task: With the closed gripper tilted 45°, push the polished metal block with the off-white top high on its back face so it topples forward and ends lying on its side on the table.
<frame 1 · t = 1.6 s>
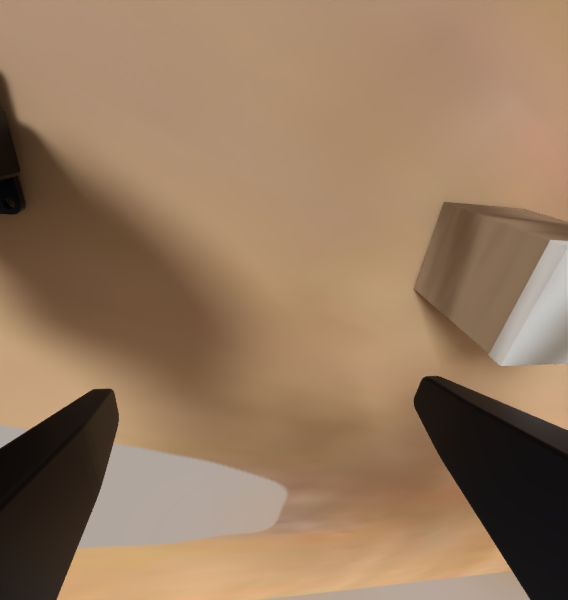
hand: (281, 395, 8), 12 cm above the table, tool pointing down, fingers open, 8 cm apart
polished metal block: (467, 250, 21), on the table
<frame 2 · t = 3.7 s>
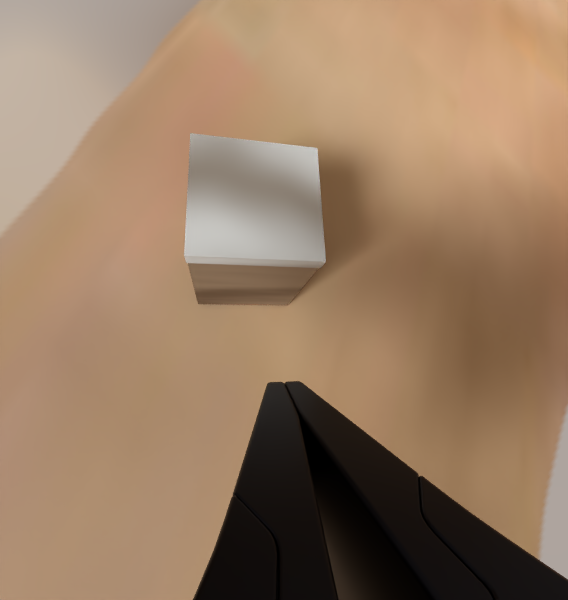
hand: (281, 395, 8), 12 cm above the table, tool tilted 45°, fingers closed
polished metal block: (244, 263, 22), on the table
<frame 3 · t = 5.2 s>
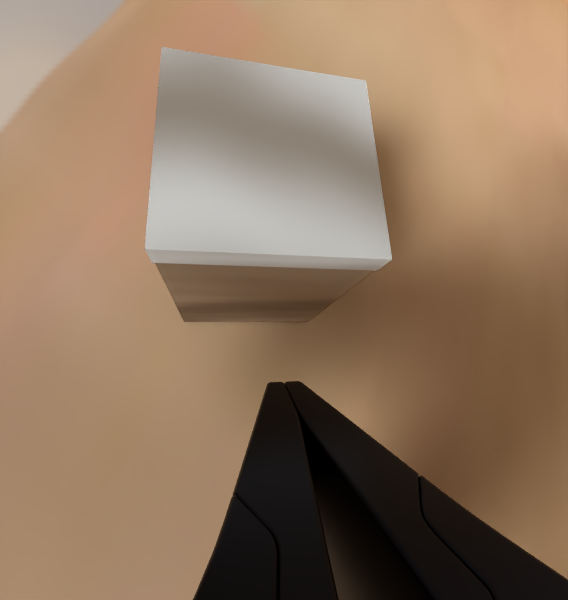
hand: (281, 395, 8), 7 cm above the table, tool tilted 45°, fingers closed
polished metal block: (247, 264, 16), on the table
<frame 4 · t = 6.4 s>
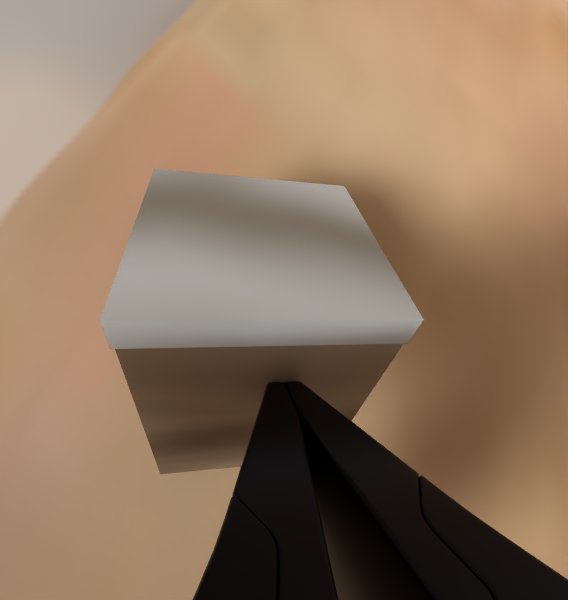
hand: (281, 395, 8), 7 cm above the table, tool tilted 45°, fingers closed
polished metal block: (243, 391, 14), point 1 cm above the table, tilted 29°, touching gripper
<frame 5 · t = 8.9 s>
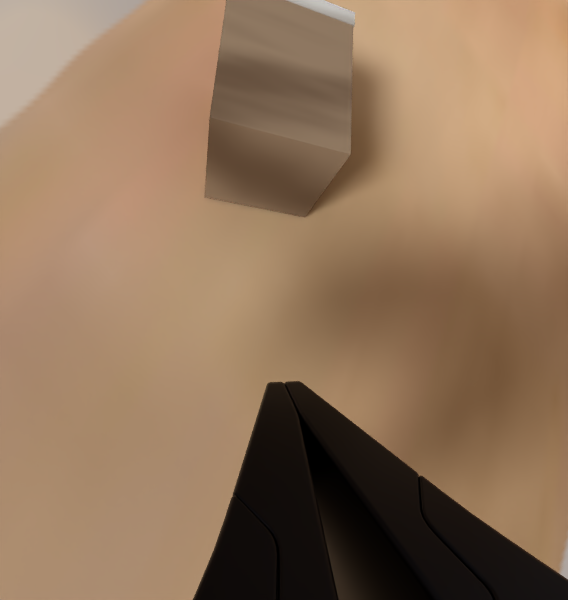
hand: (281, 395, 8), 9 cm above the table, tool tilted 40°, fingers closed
polished metal block: (268, 178, 16), point 3 cm above the table, tilted 90°
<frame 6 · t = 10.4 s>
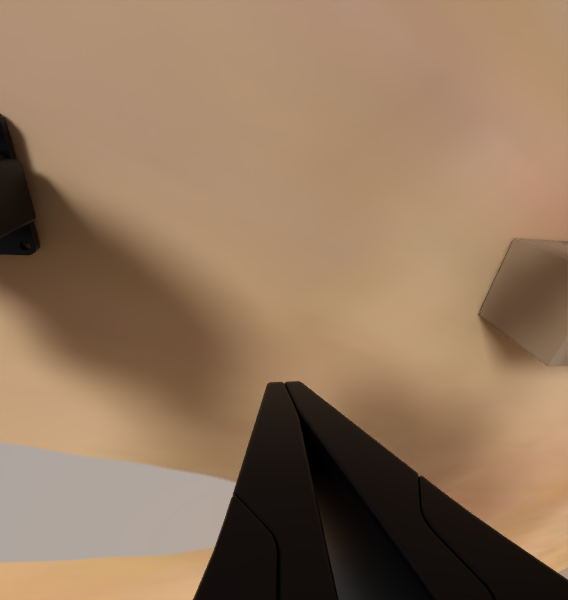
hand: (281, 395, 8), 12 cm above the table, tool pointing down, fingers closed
polished metal block: (529, 298, 20), point 3 cm above the table, tilted 90°
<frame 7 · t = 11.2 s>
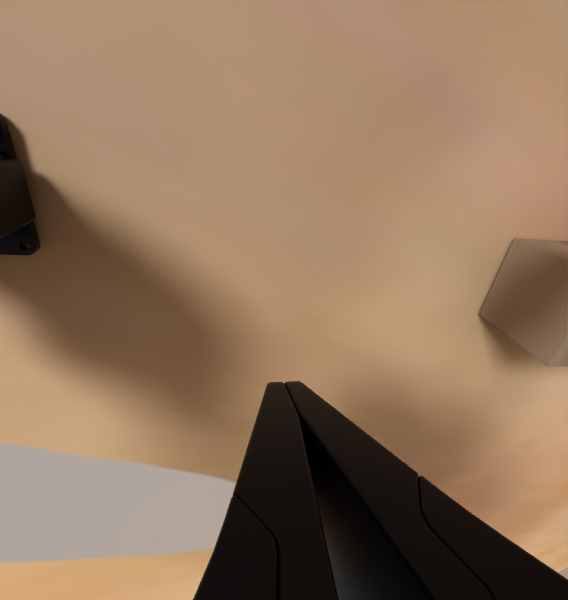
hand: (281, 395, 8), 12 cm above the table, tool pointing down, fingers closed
polished metal block: (529, 298, 20), point 3 cm above the table, tilted 90°
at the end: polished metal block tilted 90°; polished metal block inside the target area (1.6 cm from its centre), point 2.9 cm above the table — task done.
